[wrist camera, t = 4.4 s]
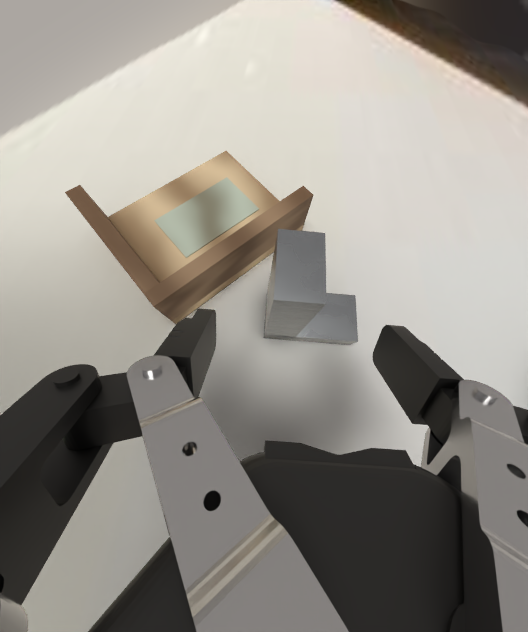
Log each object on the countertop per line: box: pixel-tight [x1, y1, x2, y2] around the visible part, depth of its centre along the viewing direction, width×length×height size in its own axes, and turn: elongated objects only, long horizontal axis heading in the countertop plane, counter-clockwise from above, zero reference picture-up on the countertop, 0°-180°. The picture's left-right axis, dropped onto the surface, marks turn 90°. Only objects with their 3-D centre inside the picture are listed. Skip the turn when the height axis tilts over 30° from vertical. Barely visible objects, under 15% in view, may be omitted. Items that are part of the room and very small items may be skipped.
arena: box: [108, 151, 303, 324], centre depth 21 cm, size 15×12×1 cm
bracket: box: [264, 229, 358, 345], centre depth 15 cm, size 8×4×9 cm, turn 86°
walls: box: [65, 185, 313, 321], centre depth 19 cm, size 15×12×4 cm
